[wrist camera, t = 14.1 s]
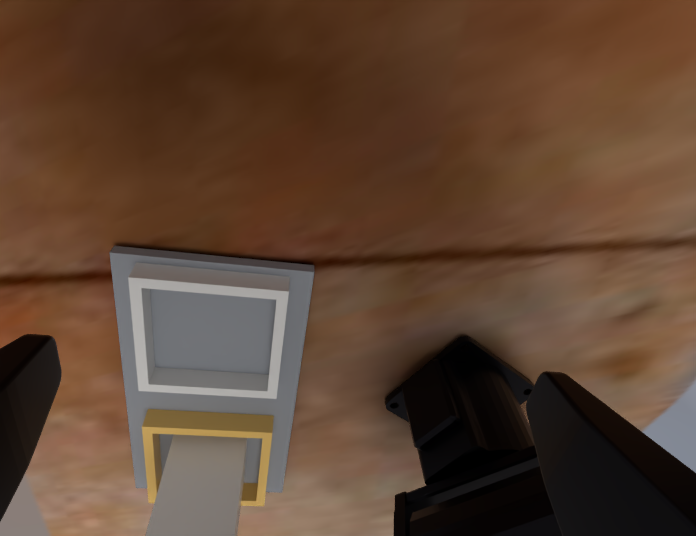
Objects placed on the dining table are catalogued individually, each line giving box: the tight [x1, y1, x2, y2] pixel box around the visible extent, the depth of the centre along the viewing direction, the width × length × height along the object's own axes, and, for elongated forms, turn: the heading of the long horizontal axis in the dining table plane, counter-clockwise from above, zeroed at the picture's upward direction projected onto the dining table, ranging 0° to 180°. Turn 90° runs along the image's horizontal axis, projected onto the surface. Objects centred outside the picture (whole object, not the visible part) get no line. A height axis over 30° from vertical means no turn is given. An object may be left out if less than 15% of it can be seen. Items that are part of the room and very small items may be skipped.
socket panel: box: [110, 246, 314, 506], centre depth 26 cm, size 17×9×2 cm, turn 171°
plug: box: [145, 434, 247, 536], centre depth 26 cm, size 5×4×8 cm
